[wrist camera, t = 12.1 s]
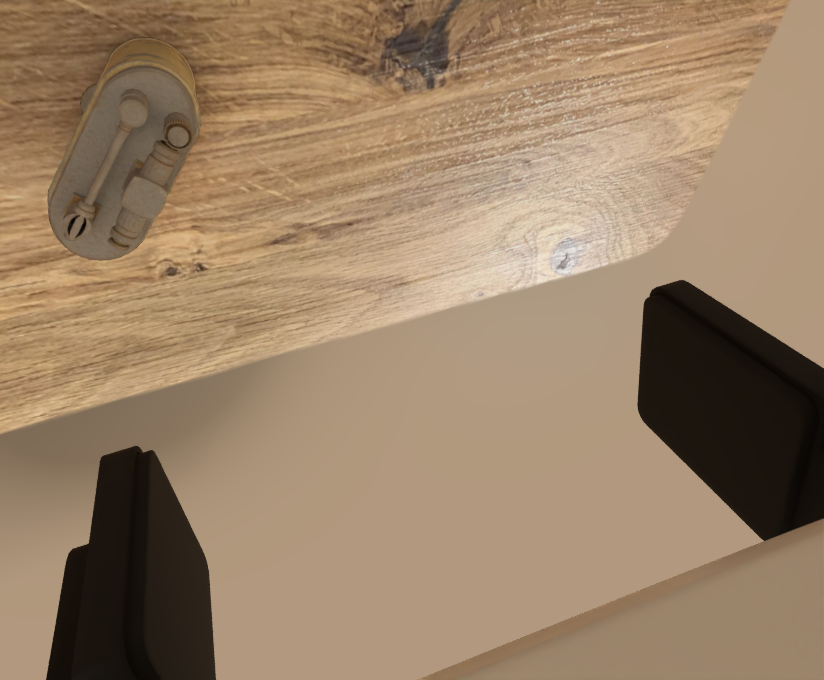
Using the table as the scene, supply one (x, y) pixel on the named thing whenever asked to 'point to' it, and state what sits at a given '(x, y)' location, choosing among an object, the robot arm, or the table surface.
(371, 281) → the table surface
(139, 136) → the lighter
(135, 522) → the robot arm
